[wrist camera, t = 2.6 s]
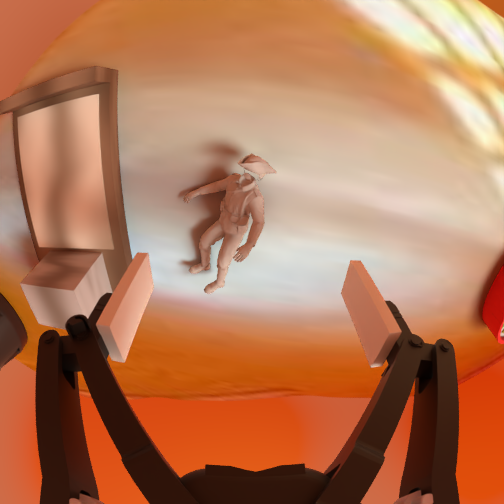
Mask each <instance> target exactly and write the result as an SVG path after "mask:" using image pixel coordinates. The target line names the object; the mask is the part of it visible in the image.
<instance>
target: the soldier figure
mask: <svg viewBox="0 0 504 504" xmlns="http://www.w3.org/2000/svg"><path fill="white" fill-rule="evenodd" d="M238 164H239V165H240V166H242V167H244V168H245V169H247V170H249V171H251V172H254V173H257V174H258V175H259V178H261V177H262V178H263V177H264V175H265V174H268V173H276V171H275V170H274V169H273V168H272V167H271V166H270V165H269V164H268V163H267V162H266V161H265V160H263V159H262V158H260V157H258V156H255V155H253V154H250V155H248V156H245V157H243V158H242V159H241V160H240V161H239V162H238ZM244 172H245V170H244ZM260 180H261V179H260ZM258 181H259V180H258ZM255 183H256V182H255V178H254V177H253V176H251V175H250V174H249V173H244V174H243V175H242V176H241V175H240V174H237V173H233V174H232V175H230V176H228V177H227V178H225V179H223V180H220V181H216V182H213V183H210V184H208V185H205V186H203V187H200V188H199V189H196V190H194V191H192V192H189V193H188V194H186V195H185V196H184V200H185V199H186V200H185V202H186V201H187V199H188V201H187V203H188V202H189V201H190V200H191V199H192V198H194V197H196V196H198V195H199V194H201V195H205V194H210V193H215V192H219V191H223V190H226V195H225V197H224V198H223V200H222V201H221V205H220V211H221V215H220V218H219V220H217V221H216V222H215V223H214V224H213V225H212V226H210V227H209V228H208V229H207V230H206V231H205V232H204V234H203V235H202V236H201V241H200V242H199V248H200V252H201V263H199V264H196V265H194V266H192V267H191V268H190V269H189V271H190V273H193V274H196V273H199V271H201V270H209V269H210V263H209V262H210V254H211V247H210V246H211V245H214V244H215V242H216V241H219V240H221V239H222V238H223V237H224V239H223V243H222V246H221V249H220V251H219V255H218V260H217V268H218V274H217V280H215V281H214V282H212V283H210V284H208V285H207V286H206V287H205V289H204V291H205V292H206V293H207V294H210V293H213V292H214V291H215V290H216V289H217V288H221V287H223V286H224V284H225V281H224V279H225V276H226V274H227V272H228V266H229V265H230V263H231V261H232V257H233V256H234V254H235V252H237V251H238V250H239V251H238V253H237V254H236V255H235V256H234V257H233V259H234V258H236V257H237V256H238V255H239V254H240V255H239V256H238V257H237V258H236V259H235V260H234V261H236V260H237V259H238V260H237V261H236V262H239V261H240V262H241V261H243V260H244V259H245V258H246V257H247V256H248V254H249V252H250V251H251V249H252V247H254V246H255V244H256V242H257V239H258V238H259V236H260V233H261V231H262V229H263V226H264V223H265V222H264V210H263V208H264V206H263V205H264V202H263V200H264V198H263V196H262V194H261V193H260V191H259V189H258V185H256V184H255ZM250 212H251V216H252V218H253V223H252V225H251V228H250V232H249V235H248V239H247V242H246V243H245V245H243V246H241V247H239V245H240V243H241V241H242V238H243V236H244V233H246V231H247V228H248V222H249V217H250V216H249V213H250ZM238 247H239V248H238ZM240 257H241V258H240ZM239 258H240V259H239Z"/></svg>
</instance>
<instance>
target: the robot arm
mask: <svg viewBox="0 0 504 504" xmlns="http://www.w3.org/2000/svg"><path fill="white" fill-rule="evenodd" d="M153 289H154V285H153V279H152V273H151V268H150V262H149V255H148V253H137V254H136V256H135V257H134V259H133V260H132V262H131V264H130V265H129V267H128V269H127V270H126V272H125V273H124V275H123V277H122V279H121V280H120V282H119V284H118V285H117V287H116V289H115V290H114V292H113V293H105V294H104V295H103V296H102V297H100V299H99V300H98V302H97V304H96V305H95V307H94V310H93V311H92V312H91V314H90V316H89V318H87V317H86V316H84V315H81V314H78V315H74V316H72V317H70V318H69V319H68V320H67V322H66V324H65V328H66V330H67V332H68V334H69V336H60V335H59V334H58V332H57V331H55V330H48V331H46V332H44V333H43V334H42V335H41V336H40V339H39V345H38V355H37V368H36V428H37V440H38V451H39V458H40V465H41V472H42V477H43V478H42V486H41V496H40V504H104V503H103V502H101V501H99V495H98V489H97V485H96V481H95V477H94V473H93V470H92V466H91V461H90V458H89V453H88V448H87V444H86V438H85V433H84V427H83V420H82V414H81V406H80V397H79V387H78V374H77V372H79V371H82V373H83V376H84V379H85V381H86V384H87V386H88V389H89V391H90V394H91V396H92V399H93V401H94V403H95V405H96V408H97V410H98V412H99V414H100V416H101V419H102V421H103V423H104V425H105V426H106V429H107V430H108V433H109V435H110V437H111V438H112V440H113V442H114V444H115V446H116V448H117V449H118V451H119V453H120V455H121V457H122V462H123V464H124V466H125V468H126V469H127V471H128V473H129V474H130V476H131V477H132V479H133V480H134V482H135V483H136V485H137V486H138V488H139V489H140V491H141V492H142V494H143V495H144V496H145V498H146V499H147V501H148V502H149V503H150V504H361V503H360V502H361V500H362V499H363V497H364V496H365V494H366V492H367V491H368V489H369V487H370V486H371V484H372V482H373V481H374V479H375V477H376V475H377V473H378V472H379V470H380V468H381V466H382V464H383V462H384V459H385V457H384V453H385V450H386V448H387V446H388V444H389V442H390V440H391V438H392V436H393V434H394V432H395V429H396V427H397V425H398V422H399V420H400V418H401V415H402V413H403V410H404V408H405V405H406V403H407V400H408V397H409V395H410V392H411V389H412V386H413V383H414V380H415V394H414V406H413V416H412V425H411V433H410V439H409V445H408V452H407V457H406V462H405V467H404V471H403V476H402V480H401V486H400V494H399V499H398V500H397V501H396V502H395V503H394V504H460V502H459V494H458V487H457V481H456V475H455V473H456V464H457V453H458V436H459V401H458V382H457V370H456V361H455V353H454V348H453V345H452V344H451V343H450V342H449V341H448V340H445V339H439V340H437V342H436V343H435V345H433V344H427V343H424V341H423V340H422V339H421V338H420V337H419V336H417V335H415V334H412V333H411V331H410V329H409V328H408V326H407V324H406V322H405V321H404V319H403V318H402V315H401V314H400V313H399V310H398V309H397V307H396V306H395V305H394V304H393V303H392V302H391V301H385V300H384V299H383V297H382V295H381V294H380V292H379V290H378V288H377V287H376V285H375V283H374V282H373V280H372V278H371V277H370V275H369V273H368V272H367V270H366V269H365V267H364V265H363V264H362V262H361V261H352V260H350V264H349V268H348V271H347V275H346V278H345V282H344V285H343V289H342V292H341V294H342V297H343V299H344V301H345V304H346V306H347V309H348V311H349V313H350V316H351V318H352V321H353V323H354V326H355V328H356V331H357V333H358V336H359V338H360V341H361V343H362V346H363V349H364V351H365V354H366V357H367V359H368V362H369V365H370V367H378V366H382V365H383V364H384V362H385V360H386V359H387V362H388V364H389V365H388V366H387V368H386V369H385V371H384V372H383V374H382V375H381V376H382V378H381V380H380V383H379V385H378V387H377V389H376V391H375V393H374V395H373V397H372V399H371V401H370V402H369V404H368V406H367V408H366V410H365V412H364V413H363V415H362V417H361V419H360V421H359V422H358V424H357V426H356V427H355V429H354V431H353V433H352V434H351V436H350V437H349V439H348V441H347V442H346V444H345V445H344V447H343V448H342V450H341V451H340V453H339V454H338V456H337V457H336V459H335V460H334V462H333V463H332V464H331V465H330V466H329V467H328V469H327V470H326V471H325V472H324V474H323V473H321V472H319V471H316V470H313V469H309V468H305V464H295V465H281V466H277V467H274V468H270V469H266V470H262V471H258V472H254V471H249V470H244V469H240V468H236V467H232V466H220V465H206V466H205V469H200V470H195V471H193V472H190V473H188V474H186V475H184V476H183V477H181V478H180V477H179V476H178V475H177V473H176V472H175V471H174V470H173V469H172V467H171V466H170V465H169V463H168V462H167V461H166V460H165V458H164V457H163V455H162V454H161V453H160V451H159V450H158V448H157V447H156V445H155V444H154V442H153V441H152V440H151V438H150V436H149V435H148V433H147V432H146V430H145V429H144V427H143V426H142V424H141V423H140V421H139V420H138V417H137V416H136V414H135V413H134V411H133V409H132V407H131V406H130V404H129V402H128V400H127V398H126V397H125V395H124V393H123V391H122V389H121V387H120V385H119V384H118V382H117V380H116V378H115V376H114V374H113V372H112V370H111V368H110V365H109V363H108V361H107V357H108V355H110V357H111V359H112V360H113V361H119V362H124V363H125V360H126V357H127V354H128V352H129V349H130V346H131V344H132V341H133V338H134V336H135V333H136V330H137V328H138V325H139V323H140V320H141V318H142V315H143V313H144V310H145V308H146V305H147V303H148V300H149V298H150V296H151V293H152V291H153ZM26 343H27V333H26V330H25V328H24V326H23V324H22V322H21V320H20V318H19V317H18V315H17V314H16V312H15V311H14V309H13V308H12V307H11V305H10V304H9V303H8V302H7V300H6V299H5V298H4V297H3V296H2V295H1V294H0V369H1V368H2V367H3V366H4V365H5V364H7V363H8V362H9V361H10V360H11V359H13V358H14V357H15V356H16V355H17V354H19V353H20V352H21V351H22V350H23V348H24V346H25V345H26Z"/></svg>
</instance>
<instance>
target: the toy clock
mask: <svg viewBox="0 0 504 504" xmlns="http://www.w3.org/2000/svg"><path fill="white" fill-rule="evenodd" d="M482 317H483V321H484V322H485V324H486V325H487V327H488V328H489V329H490V331H491V332H492V333H493V335H494V336H495V338H496V339H497V340H498V342H499V343H501V344H503V343H504V265H503V266H502V268H501V269H500V271H499V273H498V275H497V276H496V278H495V280H494V282H493V284H492V286H491V288H490V290H489V293H488V295H487V297H486V300H485V303H484V307H483V313H482Z"/></svg>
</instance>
